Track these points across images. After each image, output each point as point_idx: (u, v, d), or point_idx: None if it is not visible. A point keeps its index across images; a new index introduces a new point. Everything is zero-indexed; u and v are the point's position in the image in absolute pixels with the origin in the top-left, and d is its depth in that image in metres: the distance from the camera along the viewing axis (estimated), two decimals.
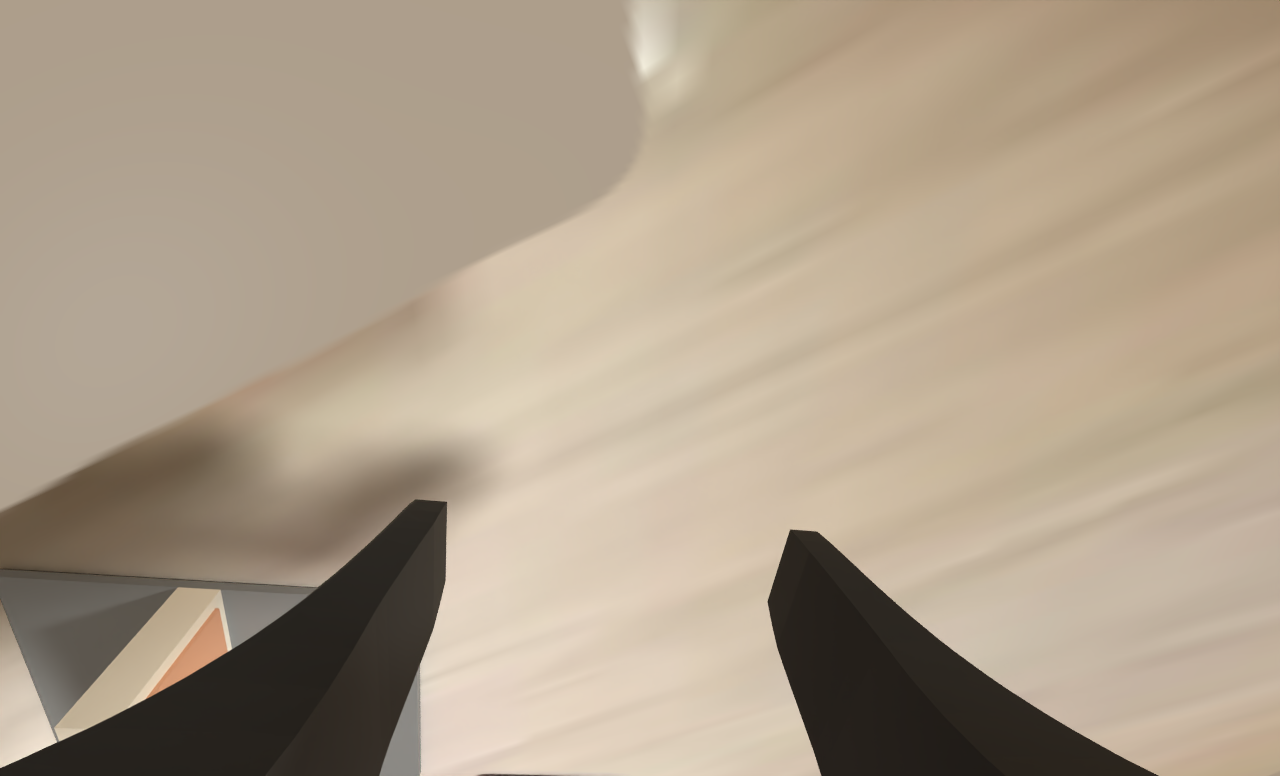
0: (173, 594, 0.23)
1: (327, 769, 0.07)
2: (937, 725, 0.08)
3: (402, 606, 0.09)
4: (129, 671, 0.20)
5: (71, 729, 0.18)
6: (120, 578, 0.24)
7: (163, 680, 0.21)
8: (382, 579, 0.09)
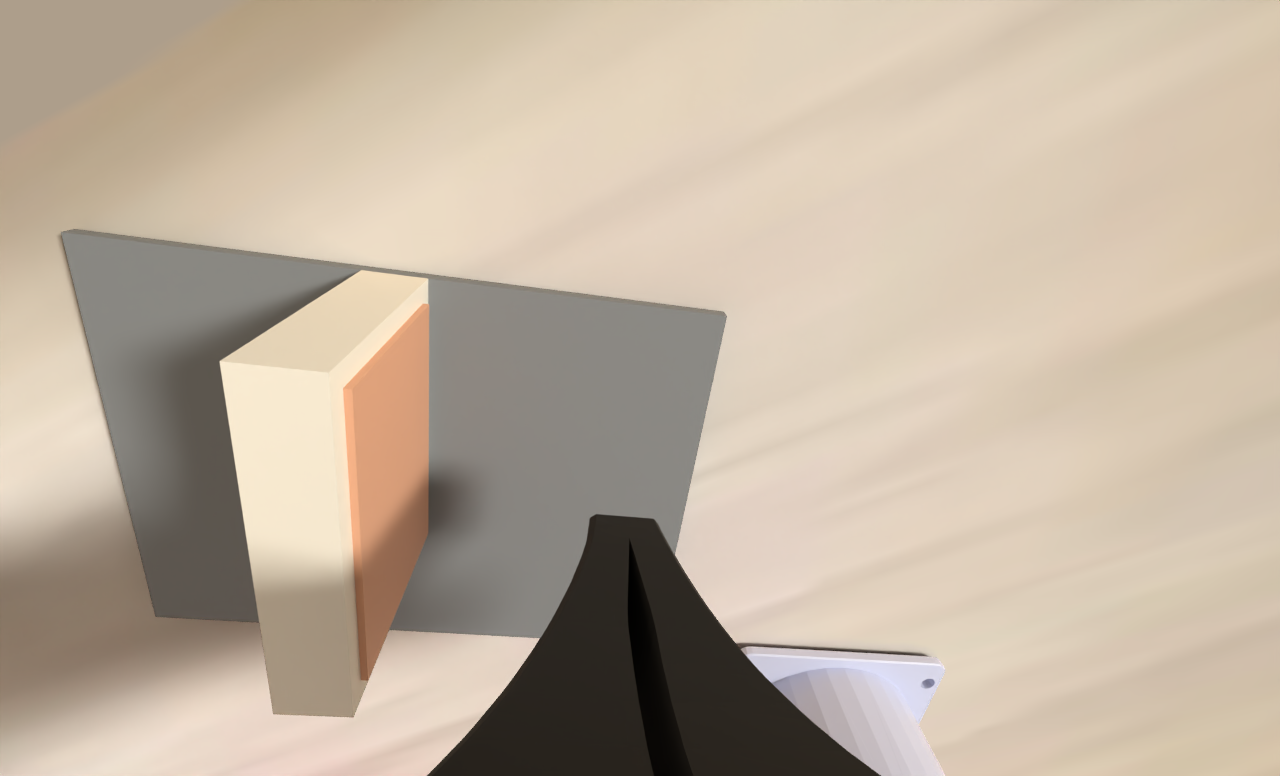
0: (358, 274, 0.14)
1: None
2: (669, 715, 0.07)
3: None
4: (329, 324, 0.11)
5: (252, 368, 0.09)
6: (266, 257, 0.15)
7: (382, 353, 0.11)
8: (616, 594, 0.09)
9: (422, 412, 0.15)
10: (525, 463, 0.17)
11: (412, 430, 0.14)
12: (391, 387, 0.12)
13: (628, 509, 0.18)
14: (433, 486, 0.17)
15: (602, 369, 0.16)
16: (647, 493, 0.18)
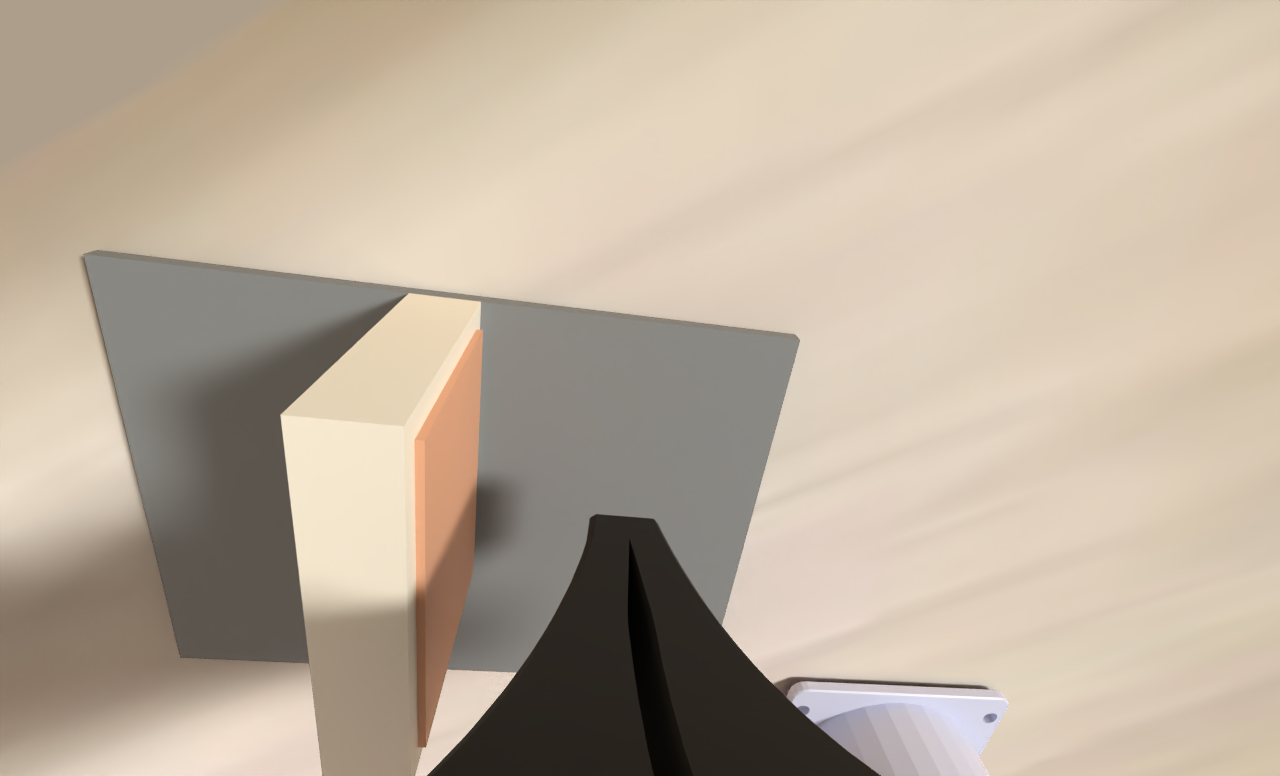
0: (407, 298, 0.13)
1: None
2: (669, 715, 0.07)
3: None
4: (390, 362, 0.10)
5: (317, 421, 0.08)
6: (305, 279, 0.13)
7: (447, 393, 0.10)
8: (616, 594, 0.09)
9: (474, 446, 0.14)
10: (577, 495, 0.16)
11: (466, 468, 0.13)
12: (453, 427, 0.11)
13: (684, 542, 0.17)
14: (479, 520, 0.16)
15: (663, 396, 0.15)
16: (706, 526, 0.17)
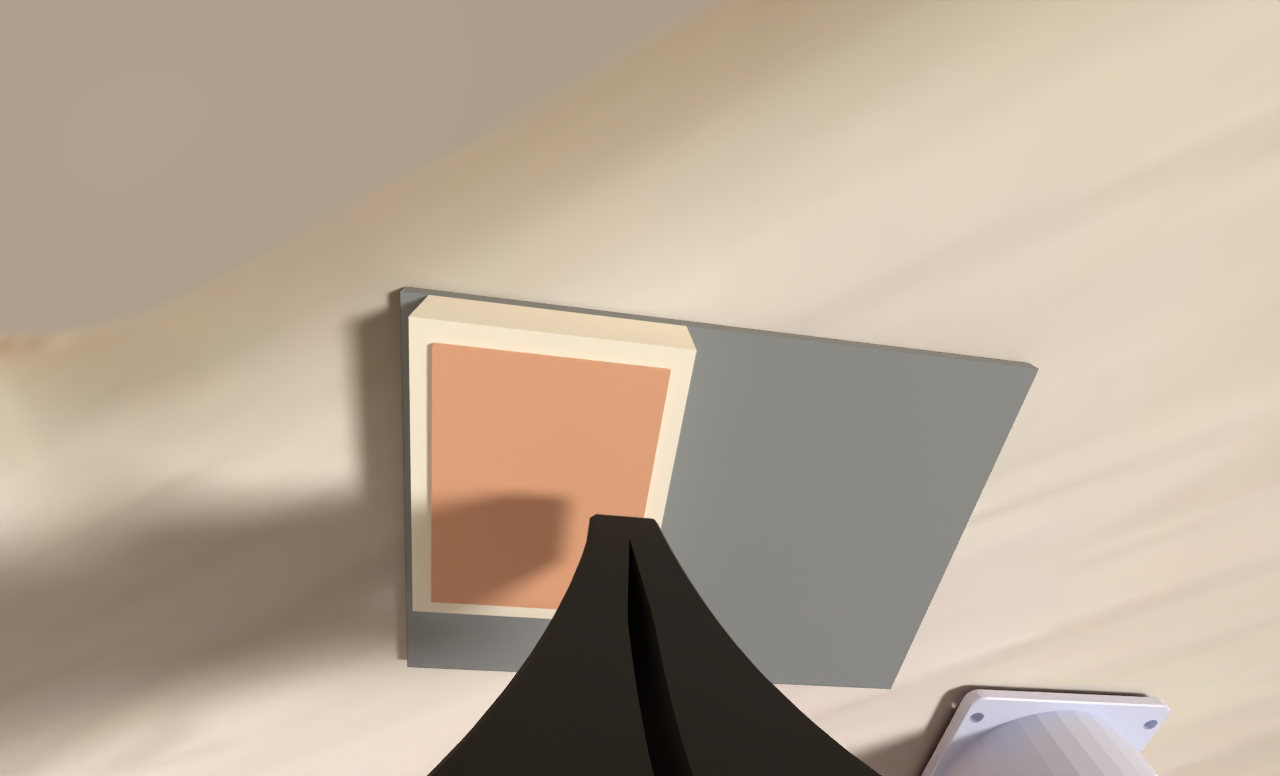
0: (670, 325, 0.14)
1: None
2: (669, 715, 0.07)
3: None
4: (517, 316, 0.13)
5: (423, 303, 0.13)
6: (589, 313, 0.14)
7: (515, 354, 0.12)
8: (616, 594, 0.09)
9: (626, 474, 0.14)
10: (805, 514, 0.17)
11: (587, 472, 0.14)
12: (528, 393, 0.13)
13: (895, 558, 0.18)
14: (709, 537, 0.17)
15: (903, 421, 0.16)
16: (918, 542, 0.17)
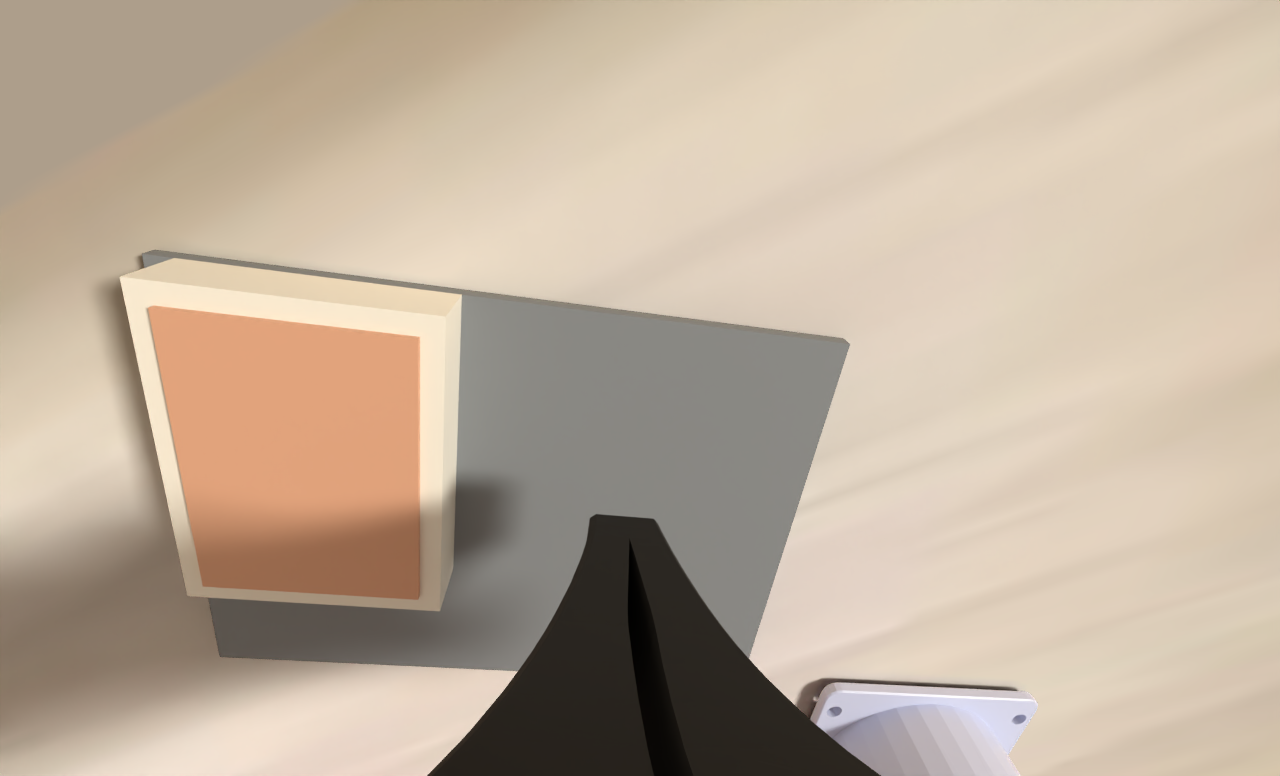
0: (443, 293, 0.13)
1: None
2: (669, 715, 0.07)
3: None
4: (259, 280, 0.12)
5: (159, 266, 0.12)
6: (360, 280, 0.13)
7: (244, 319, 0.12)
8: (616, 594, 0.09)
9: (390, 450, 0.13)
10: (622, 497, 0.16)
11: (347, 447, 0.13)
12: (265, 362, 0.12)
13: (726, 544, 0.17)
14: (523, 521, 0.16)
15: (712, 399, 0.15)
16: (748, 528, 0.17)
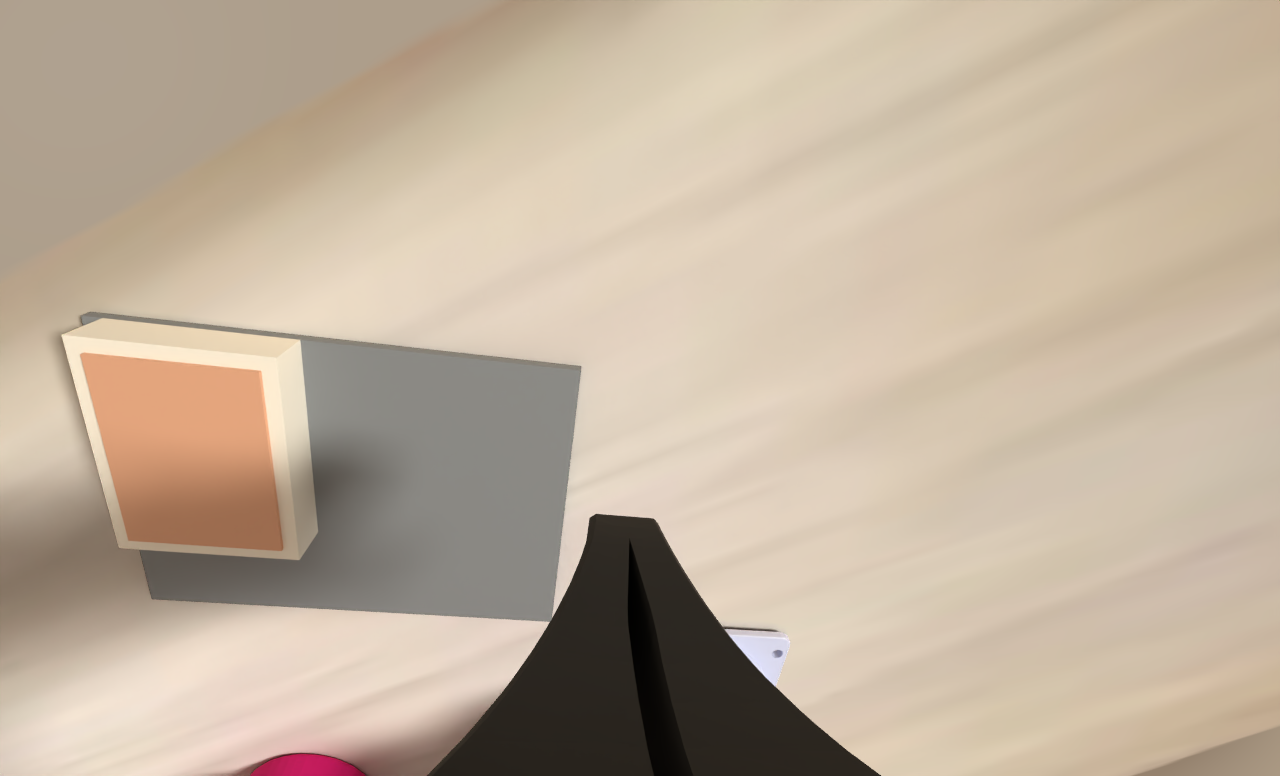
0: (286, 339, 0.19)
1: None
2: (669, 715, 0.07)
3: None
4: (156, 333, 0.18)
5: (91, 324, 0.18)
6: (232, 330, 0.20)
7: (143, 360, 0.18)
8: (616, 594, 0.09)
9: (249, 446, 0.19)
10: (435, 480, 0.22)
11: (219, 444, 0.19)
12: (159, 388, 0.18)
13: (519, 514, 0.23)
14: (365, 497, 0.22)
15: (489, 409, 0.21)
16: (533, 502, 0.23)
